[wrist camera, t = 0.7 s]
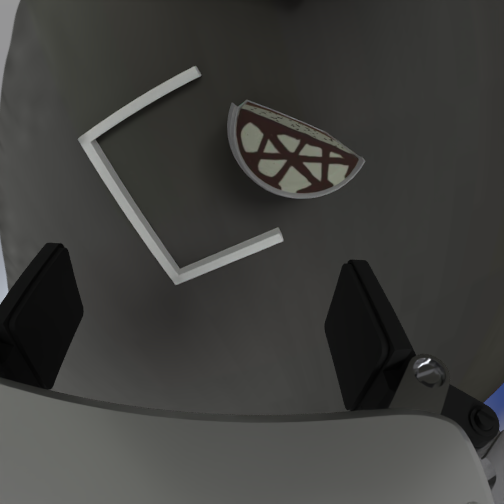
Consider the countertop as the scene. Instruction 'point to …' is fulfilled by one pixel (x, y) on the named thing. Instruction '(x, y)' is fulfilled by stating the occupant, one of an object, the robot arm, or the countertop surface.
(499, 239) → the countertop surface
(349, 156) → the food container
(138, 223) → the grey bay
